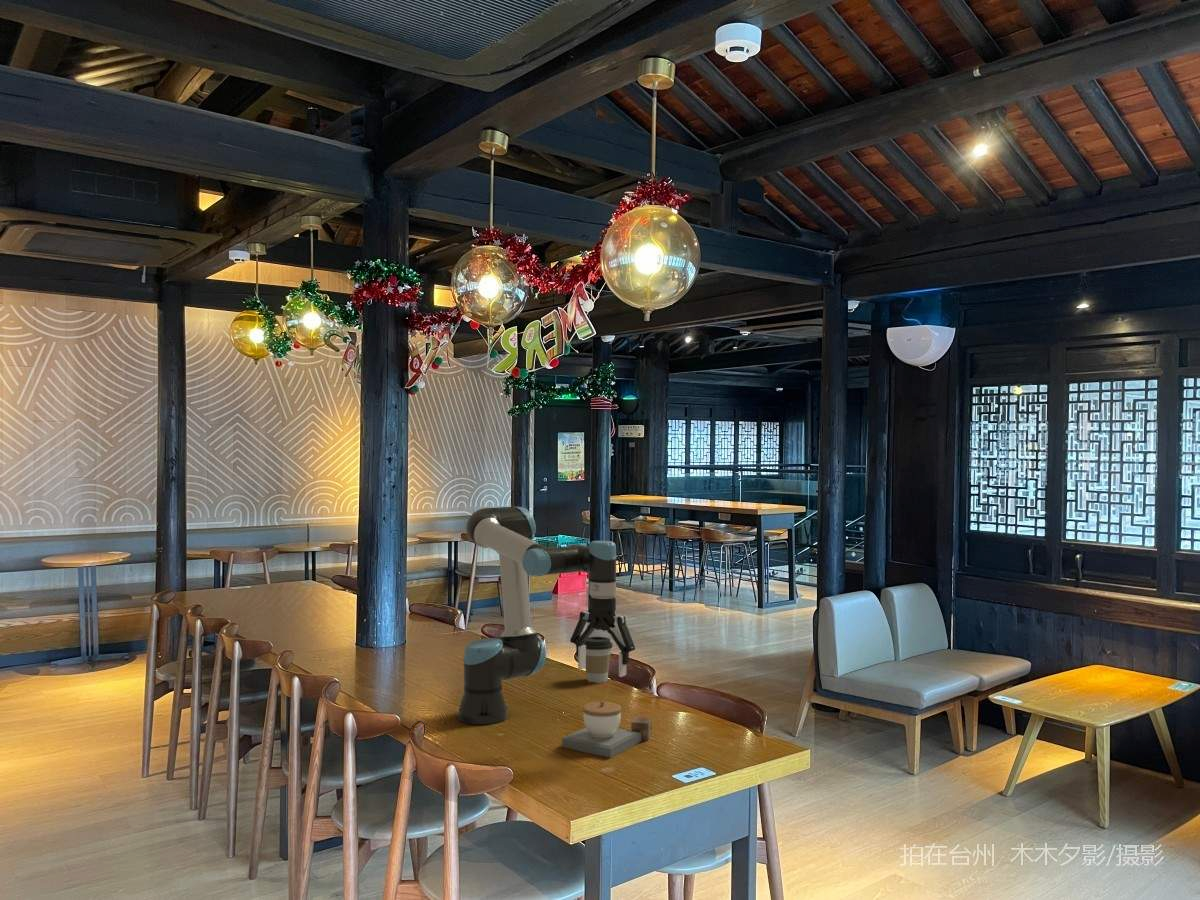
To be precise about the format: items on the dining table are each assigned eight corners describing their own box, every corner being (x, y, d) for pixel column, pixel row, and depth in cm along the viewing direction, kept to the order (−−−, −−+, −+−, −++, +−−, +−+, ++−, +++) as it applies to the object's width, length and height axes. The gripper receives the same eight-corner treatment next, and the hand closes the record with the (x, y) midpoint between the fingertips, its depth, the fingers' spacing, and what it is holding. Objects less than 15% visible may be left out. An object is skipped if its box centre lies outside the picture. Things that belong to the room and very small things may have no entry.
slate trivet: (562, 746, 233) (562, 737, 233) (594, 731, 246) (594, 722, 246) (610, 758, 224) (610, 748, 224) (641, 741, 237) (641, 732, 237)
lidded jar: (588, 742, 228) (588, 707, 228) (578, 730, 239) (579, 697, 239) (626, 739, 231) (626, 704, 231) (615, 727, 241) (615, 694, 242)
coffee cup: (614, 677, 308) (614, 636, 308) (611, 685, 297) (611, 642, 297) (583, 676, 309) (583, 635, 309) (579, 684, 298) (579, 642, 298)
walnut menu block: (631, 739, 239) (631, 722, 239) (634, 734, 244) (635, 716, 244) (648, 741, 238) (648, 723, 238) (651, 735, 243) (651, 718, 243)
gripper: (558, 593, 239) (558, 668, 239) (633, 602, 225) (633, 682, 225) (573, 590, 245) (573, 663, 245) (647, 599, 232) (647, 676, 231)
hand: (601, 672), depth 235 cm, fingers open, 13 cm apart
